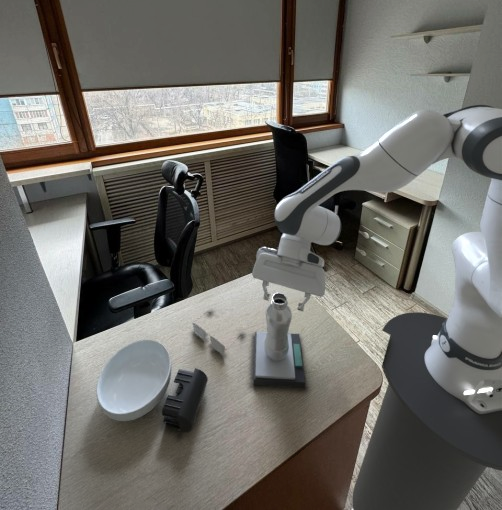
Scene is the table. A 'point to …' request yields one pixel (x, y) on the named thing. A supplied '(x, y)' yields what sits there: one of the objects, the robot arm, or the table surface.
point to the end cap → (185, 400)
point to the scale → (278, 364)
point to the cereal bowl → (134, 380)
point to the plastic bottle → (277, 328)
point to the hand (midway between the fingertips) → (282, 305)
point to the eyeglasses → (214, 342)
